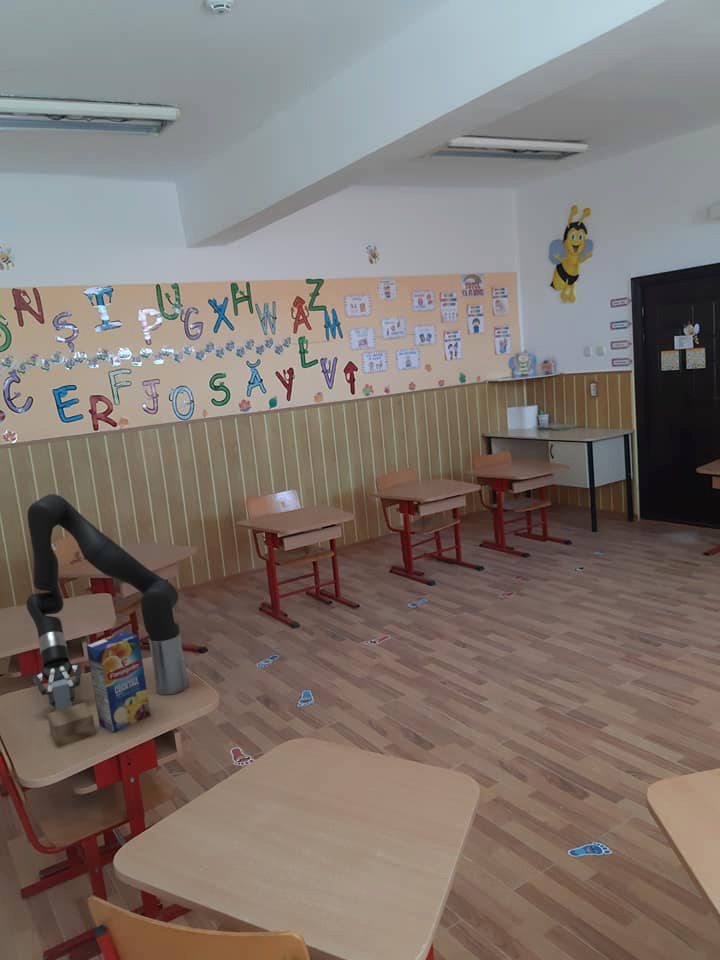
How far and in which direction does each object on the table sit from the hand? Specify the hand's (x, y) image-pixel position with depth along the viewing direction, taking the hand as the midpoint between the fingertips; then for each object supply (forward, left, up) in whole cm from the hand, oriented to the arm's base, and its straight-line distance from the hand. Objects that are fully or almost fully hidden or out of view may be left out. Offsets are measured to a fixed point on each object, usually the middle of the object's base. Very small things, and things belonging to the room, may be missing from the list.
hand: (63, 702), depth 216 cm
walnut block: (-1, +12, -5) cm, 13 cm away
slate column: (0, -2, -5) cm, 5 cm away
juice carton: (-15, +13, -5) cm, 20 cm away
